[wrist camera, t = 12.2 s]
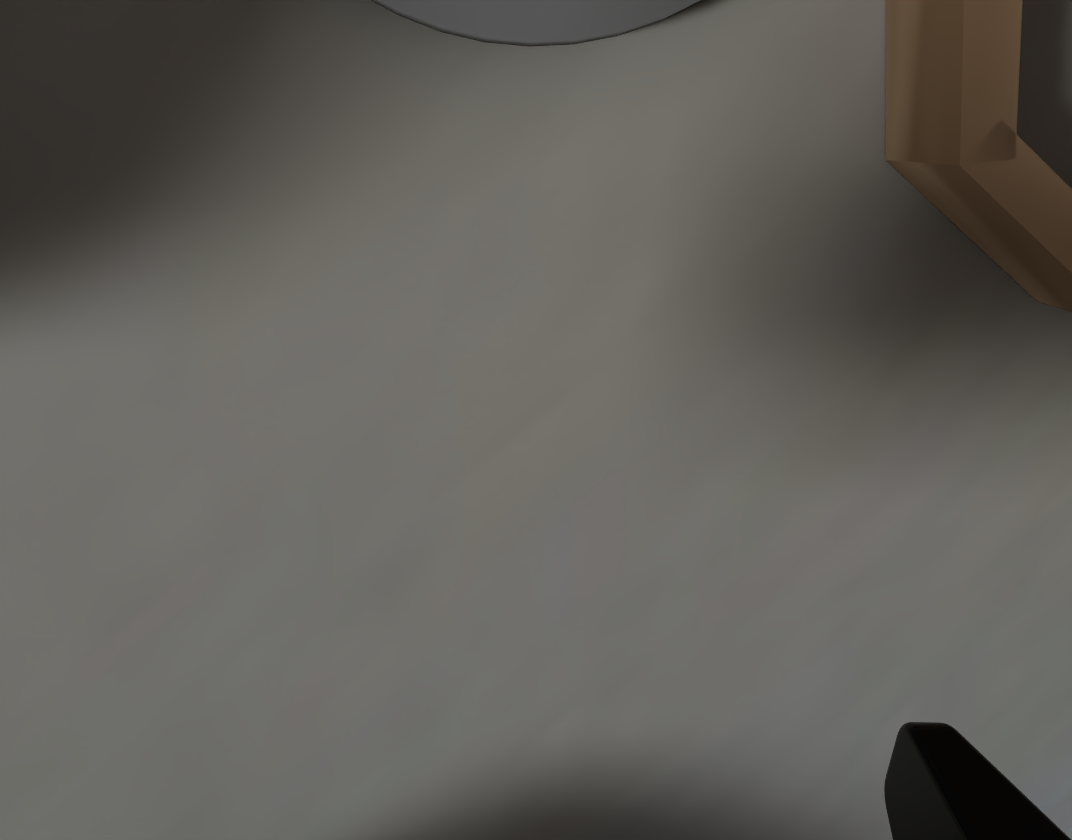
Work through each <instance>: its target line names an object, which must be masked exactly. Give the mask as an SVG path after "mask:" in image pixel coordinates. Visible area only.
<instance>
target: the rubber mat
mask: <svg viewBox="0 0 1072 840" xmlns="http://www.w3.org/2000/svg"><path fill="white" fill-rule="evenodd" d="M372 1H374V2H375V3H377V4H379V5H381V6H383V7H385V8H386V9H388V10H390V11H392V12H394V13H395V14H397V15H399V16H402V17H404V18H407V19H410V20H412V21H415V22H417V23H420V24H423V25H425V26H428V27H430V28H433V29H435V30H438V31H441V32H444V33H448V34H453V35H457V36H461V37H465V38H469V39H474V40H478V41H482V42H488V43H498V44H509V45H520V46H548V45H569V44H577V43H583V42H588V41H593V40H598V39H604V38H609V37H614V36H618V35H621V34H624V33H627V32H630V31H633V30H635V29H638V28H641V27H644V26H647V25H650V24H653V23H656V22H659V21H661V20H663V19H665V18H667V17H669V16H671V15H673V14H675V13H677V12H679V11H681V10H683V9H685V8H687V7H689V6H691V5H692V4H694V3H696V2H698V1H700V0H372Z"/></svg>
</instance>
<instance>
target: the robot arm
mask: <svg viewBox="0 0 1072 840" xmlns="http://www.w3.org/2000/svg"><path fill="white" fill-rule="evenodd" d="M884 791H885V803H886V809H887V813H888V818H889V823H890V828H891V832H892V837H893V840H1071V839H1070V838H1069V837H1068V836H1067V835H1066V834H1065V833H1064V832H1063V831H1061V830H1060V829H1059V828H1058V827H1057V826H1056V825H1055V824H1054V823H1053V822H1052V821H1051V820H1050V819H1049V818H1048V817H1047V816H1046V815H1045V814H1044V813H1043V812H1042V811H1041V810H1039V809H1038V808H1037V807H1036V806H1035V805H1034V804H1033V803H1032V802H1031V801H1030V800H1029V799H1028V798H1027V797H1026V796H1025V795H1024V794H1023V793H1022V792H1021V791H1020V790H1019V789H1018V788H1016V787H1015V786H1014V785H1013V784H1012V783H1011V782H1010V781H1009V780H1008V779H1007V778H1006V777H1005V776H1004V775H1003V774H1002V773H1001V772H1000V771H999V770H998V769H997V768H996V767H994V766H993V765H992V764H991V763H990V762H989V761H988V760H987V759H986V758H985V757H984V756H983V755H982V754H981V753H980V752H979V751H978V750H977V749H976V748H975V747H974V746H972V745H971V744H970V743H969V742H968V741H967V740H966V739H965V738H964V737H963V736H962V735H961V734H960V733H959V732H958V731H957V730H955V729H954V728H953V727H951V726H949V725H948V724H945V723H930V722H909V723H905V724H904V725H903V726H902V727H901V728H900V730H899V732H898V735H897V738H896V742H895V745H894V749H893V753H892V756H891V760H890V764H889V767H888V771H887V774H886V779H885V787H884Z"/></svg>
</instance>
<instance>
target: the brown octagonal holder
mask: <svg viewBox="0 0 1072 840" xmlns="http://www.w3.org/2000/svg"><path fill="white" fill-rule="evenodd" d="M1021 22H1022V0H886V161H887V162H888V163H889V164H890V165H892V166H893V167H894V168H895V169H896V170H897V171H898V172H899V173H900V174H901V175H902V176H903V177H904V178H905V179H907V180H908V181H909V182H910V183H911V184H912V185H913V186H914V187H915V188H916V189H917V190H918V191H919V192H920V193H922V194H923V195H924V196H925V197H926V198H927V199H928V200H929V201H930V202H931V203H932V204H933V205H934V206H935V207H937V208H938V209H939V210H940V211H941V212H942V213H943V214H944V215H945V216H946V217H947V218H948V219H949V220H950V221H952V222H953V223H954V224H955V225H956V226H957V227H958V228H959V229H960V230H961V231H962V232H963V233H964V234H965V235H967V236H968V237H969V238H970V239H971V240H972V241H973V242H974V243H975V244H976V245H977V246H978V247H979V248H980V249H982V250H983V251H984V252H985V253H986V254H987V255H988V256H989V257H990V258H991V259H992V260H993V261H994V262H996V263H997V264H998V265H999V266H1000V267H1001V268H1002V269H1003V270H1004V271H1005V272H1006V273H1007V274H1008V275H1009V276H1011V277H1012V278H1013V279H1014V280H1015V281H1016V282H1017V283H1018V284H1019V285H1020V286H1021V287H1022V288H1023V289H1024V290H1026V291H1027V292H1028V293H1029V294H1030V295H1031V296H1032V297H1033V298H1034V299H1035V300H1036V301H1038V302H1041V303H1044V304H1048V305H1051V306H1054V307H1057V308H1061V309H1064V310H1067V311H1070V312H1072V189H1071V188H1070V187H1069V186H1068V185H1067V184H1066V183H1065V182H1064V181H1063V180H1062V179H1061V178H1060V177H1059V176H1058V175H1057V174H1056V173H1055V172H1054V171H1053V170H1052V169H1051V168H1050V167H1049V166H1048V165H1047V164H1046V163H1045V162H1044V161H1043V160H1042V159H1041V158H1040V157H1039V156H1038V155H1037V154H1036V153H1035V152H1034V151H1033V150H1032V149H1031V148H1030V147H1029V146H1028V145H1027V144H1026V143H1025V142H1024V141H1023V140H1022V139H1021V138H1020V137H1019V136H1018V135H1017V112H1018V89H1019V67H1020V44H1021Z"/></svg>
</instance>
